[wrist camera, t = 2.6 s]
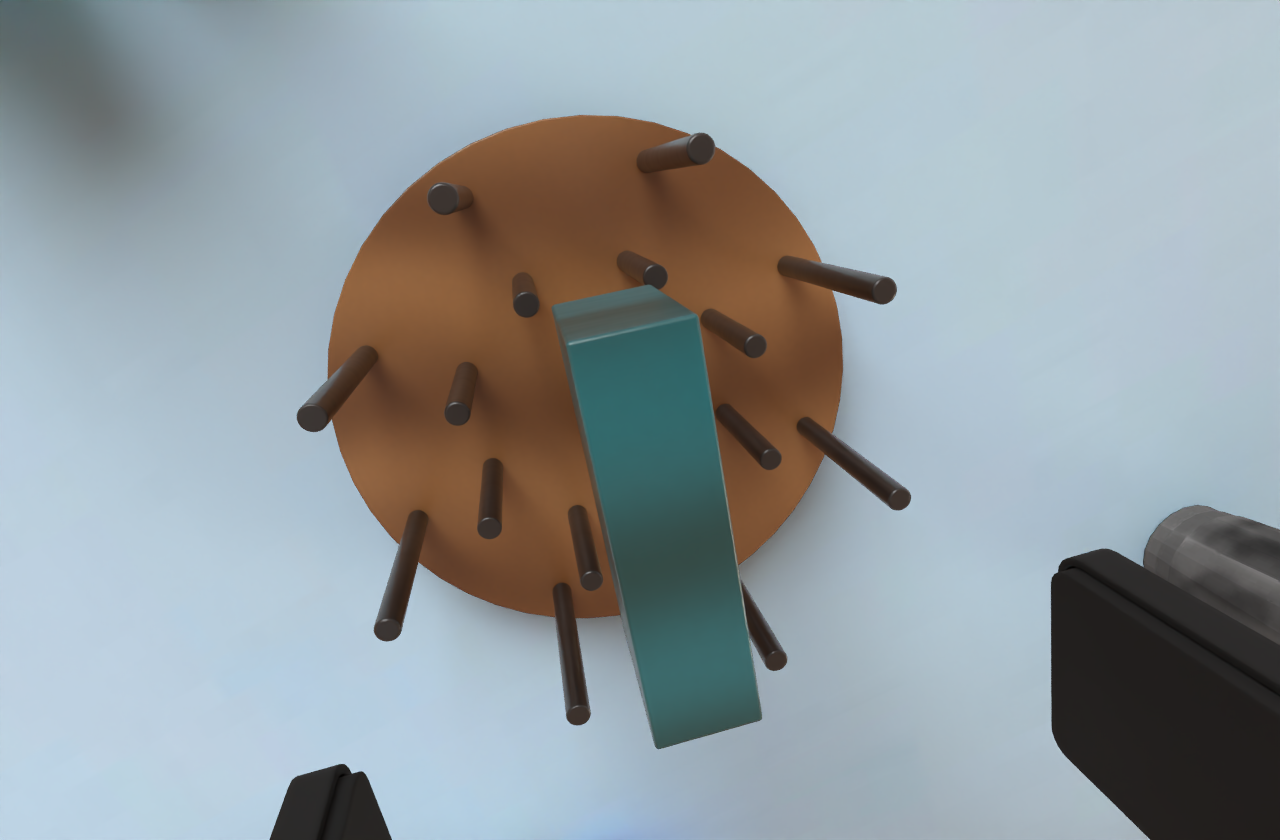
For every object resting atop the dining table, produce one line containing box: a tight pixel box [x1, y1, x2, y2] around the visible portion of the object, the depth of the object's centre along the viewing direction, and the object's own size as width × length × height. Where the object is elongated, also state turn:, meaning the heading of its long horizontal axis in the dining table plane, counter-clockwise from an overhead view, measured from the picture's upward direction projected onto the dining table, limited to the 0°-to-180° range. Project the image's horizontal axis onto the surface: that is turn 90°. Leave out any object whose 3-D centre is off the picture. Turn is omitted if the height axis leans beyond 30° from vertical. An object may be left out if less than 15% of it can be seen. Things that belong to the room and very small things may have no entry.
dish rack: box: [297, 115, 911, 749], centre depth 20 cm, size 18×18×13 cm
